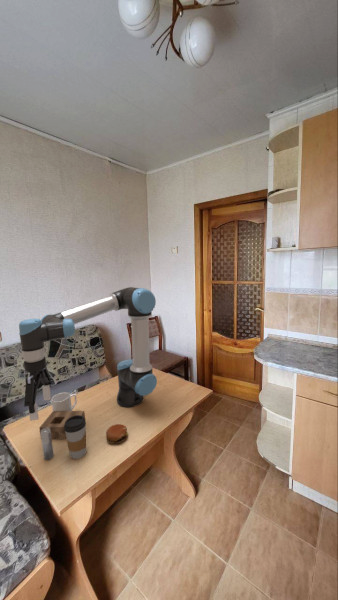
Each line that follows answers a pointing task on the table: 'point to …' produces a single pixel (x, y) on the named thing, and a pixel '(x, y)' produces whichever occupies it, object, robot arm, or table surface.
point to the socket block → (59, 422)
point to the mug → (63, 402)
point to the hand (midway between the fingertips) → (41, 409)
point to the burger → (116, 433)
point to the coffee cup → (76, 436)
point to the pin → (47, 443)
